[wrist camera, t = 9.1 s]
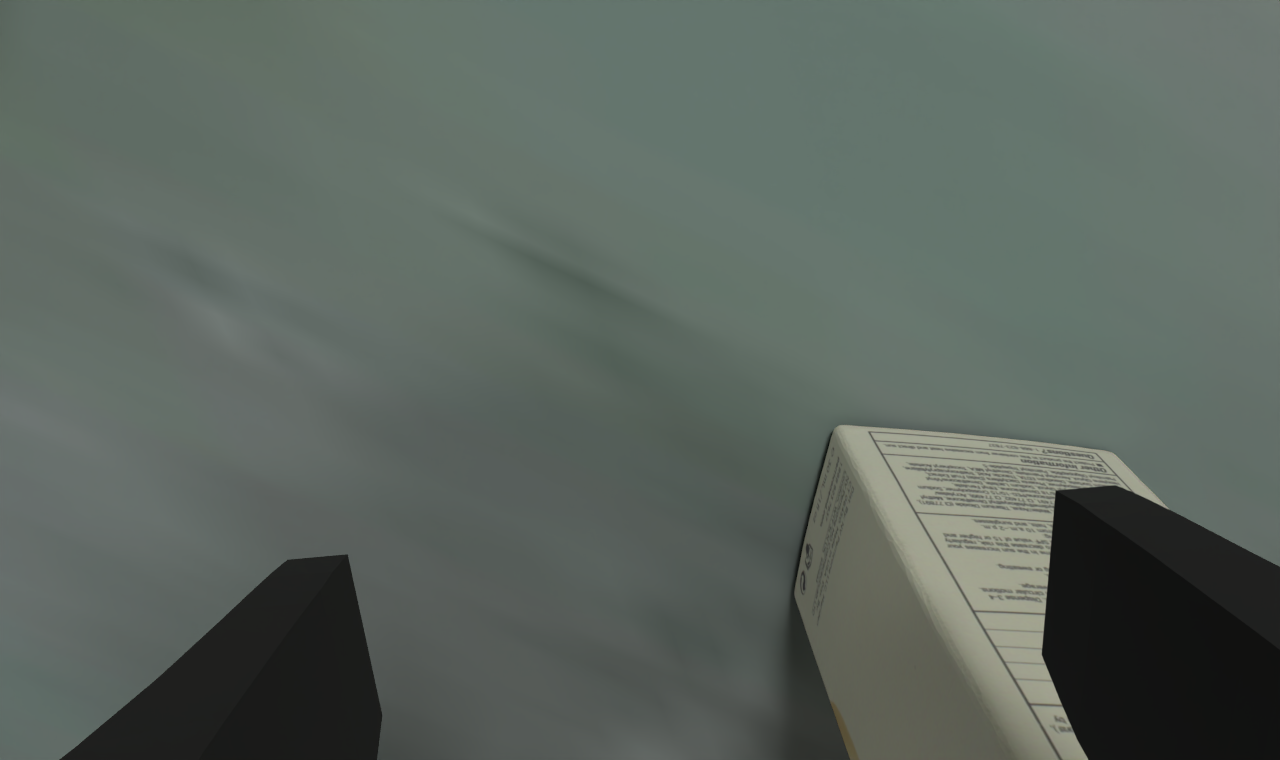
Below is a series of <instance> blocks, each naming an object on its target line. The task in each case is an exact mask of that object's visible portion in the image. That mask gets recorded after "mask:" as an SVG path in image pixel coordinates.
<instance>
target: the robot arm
mask: <svg viewBox="0 0 1280 760" xmlns="http://www.w3.org/2000/svg"><path fill="white" fill-rule="evenodd" d="M1042 657H1043V659H1044V662H1045V664H1046V667H1047V669H1048V672H1049V674H1050V677H1051V679H1052V682H1053V684H1054V687H1055V689H1056V692H1057V694H1058V697H1059V699H1060V702H1061V704H1062V706H1063V709H1064V711H1065V713H1066V715H1067V718H1068V720H1069V722H1070V724H1071V727H1072V729H1073V731H1074V734H1075V736H1076V738H1077V740H1078V742H1079V744H1080V746H1081V748H1082V749H1083V751H1084V753H1085V755H1086V756H1087V758H1088V760H1280V567H1279V566H1277V565H1275V564H1273V563H1271V562H1269V561H1267V560H1265V559H1263V558H1261V557H1259V556H1257V555H1255V554H1254V553H1252V552H1250V551H1248V550H1246V549H1244V548H1242V547H1240V546H1238V545H1236V544H1234V543H1232V542H1230V541H1228V540H1227V539H1225V538H1223V537H1221V536H1219V535H1217V534H1215V533H1213V532H1211V531H1209V530H1207V529H1205V528H1204V527H1202V526H1200V525H1198V524H1196V523H1194V522H1192V521H1190V520H1188V519H1186V518H1184V517H1182V516H1180V515H1178V514H1177V513H1175V512H1173V511H1171V510H1169V509H1167V508H1165V507H1163V506H1161V505H1159V504H1157V503H1155V502H1153V501H1151V500H1148V499H1146V498H1144V497H1142V496H1140V495H1138V494H1136V493H1133V492H1131V491H1129V490H1126V489H1124V488H1121V487H1119V486H1116V485H1111V486H1100V487H1089V488H1078V489H1067V490H1056V492H1055V504H1054V516H1053V528H1052V539H1051V551H1050V563H1049V574H1048V586H1047V598H1046V610H1045V621H1044V633H1043V645H1042ZM381 721H382V712H381V707H380V703H379V698H378V693H377V689H376V684H375V679H374V675H373V670H372V666H371V661H370V656H369V652H368V647H367V642H366V638H365V633H364V628H363V624H362V619H361V615H360V610H359V605H358V601H357V596H356V591H355V587H354V582H353V578H352V573H351V568H350V564H349V559H348V555H337V556H325V557H314V558H303V559H292V560H287V561H286V562H284V563H283V564H282V565H281V566H280V567H278V568H277V569H276V570H275V571H274V572H272V573H271V574H270V575H269V576H268V577H267V578H266V579H265V580H263V581H262V582H261V583H260V584H259V585H258V586H257V587H256V588H255V589H254V590H253V591H252V592H250V593H249V594H248V595H247V596H246V597H245V598H244V599H243V600H242V601H241V602H240V603H239V604H238V605H237V606H236V607H234V608H233V609H232V610H231V611H230V612H229V613H228V614H227V615H226V616H225V617H224V618H223V619H222V620H221V621H220V622H219V623H217V624H216V625H215V626H214V627H213V628H212V629H211V630H210V631H209V632H208V633H207V634H206V635H204V636H203V637H202V638H201V639H200V640H199V641H198V642H197V643H196V644H195V645H194V646H192V647H191V648H190V649H189V650H188V651H187V652H186V653H185V654H184V655H183V656H182V657H180V658H179V659H178V660H177V661H176V662H175V663H174V664H173V665H172V666H171V667H170V668H168V669H167V670H166V671H165V672H164V673H163V674H162V675H161V676H160V677H159V678H157V679H156V680H155V681H154V682H153V683H152V684H150V685H149V686H148V687H147V688H146V689H144V690H143V691H142V692H141V693H140V694H138V695H137V696H136V697H135V698H134V699H133V700H131V701H130V702H129V703H128V704H127V705H125V706H124V707H123V708H122V709H121V710H119V711H118V712H117V713H116V714H115V715H113V716H112V717H111V718H110V719H109V720H107V721H106V722H105V723H104V724H103V725H101V726H100V727H99V728H98V729H97V730H96V731H94V732H93V733H92V734H91V735H90V736H88V737H87V738H86V739H85V740H84V741H82V742H81V743H80V744H79V745H78V746H76V747H75V748H74V749H73V750H71V751H70V752H69V753H67V754H66V755H65V756H64V757H62V758H61V759H60V760H377V754H378V746H379V738H380V730H381Z"/></svg>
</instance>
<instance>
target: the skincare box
mask: <svg viewBox="0 0 1280 760" xmlns="http://www.w3.org/2000/svg"><path fill="white" fill-rule="evenodd" d="M1111 485H1116V486H1119V487H1121V488H1124V489H1126V490H1129V491H1131V492H1133V493H1136V494H1138V495H1140V496H1142V497H1144V498H1146V499H1148V500H1151V501H1153V502H1155V503H1157V504H1159V505H1161V506H1163V507H1165V508H1167V506H1166V505H1165V504H1164V503H1163V502H1162V501H1161V500H1160V499H1159V498H1158V497H1157V496H1156V495H1155V494H1154V493H1153V492H1152V491H1151V490H1150V489H1149V488H1148V487H1147V486H1146V485H1145V484H1144V483H1143V482H1142V481H1140V480H1139V478H1138V477H1137V476H1136V475H1135V474H1134V473H1133V472H1132V471H1131V470H1130V469H1129V468H1128V467H1127V466H1126V465H1125V464H1124V463H1123V462H1122V461H1121V460H1120V459H1119V458H1118V457H1117V456H1116V455H1115V454H1114V453H1112V452H1108V451H1104V450H1096V449H1088V448H1081V447H1075V446H1065V445H1058V444H1051V443H1042V442H1034V441H1024V440H1015V439H1006V438H996V437H985V436H975V435H965V434H955V433H943V432H930V431H918V430H906V429H892V428H878V427H863V426H851V425H839V426H837V427H836V428H835V429H834V431H833V433H832V436H831V440H830V444H829V448H828V451H827V455H826V459H825V463H824V466H823V469H822V473H821V476H820V480H819V484H818V488H817V492H816V496H815V499H814V503H813V507H812V511H811V515H810V519H809V523H808V527H807V531H806V536H805V540H804V544H803V549H802V554H801V559H800V565H799V570H798V575H797V580H796V585H795V592H794V595H795V599H796V602H797V605H798V608H799V611H800V614H801V617H802V620H803V623H804V626H805V629H806V632H807V635H808V638H809V641H810V644H811V647H812V650H813V653H814V656H815V659H816V662H817V665H818V668H819V671H820V674H821V676H822V679H823V682H824V685H825V688H826V691H827V694H828V697H829V700H830V703H831V705H832V708H833V711H834V714H835V717H836V720H837V723H838V726H839V729H840V732H841V735H842V737H843V740H844V743H845V746H846V749H847V752H848V755H849V758H850V760H1088V758H1087V756H1086V755H1085V753H1084V751H1083V749H1082V748H1081V746H1080V744H1079V742H1078V740H1077V738H1076V736H1075V734H1074V731H1073V729H1072V727H1071V724H1070V722H1069V720H1068V718H1067V715H1066V713H1065V711H1064V709H1063V706H1062V704H1061V702H1060V699H1059V697H1058V694H1057V692H1056V689H1055V687H1054V684H1053V682H1052V679H1051V677H1050V674H1049V672H1048V669H1047V667H1046V664H1045V662H1044V659H1043V657H1042V645H1043V633H1044V621H1045V610H1046V598H1047V586H1048V574H1049V563H1050V551H1051V539H1052V528H1053V516H1054V504H1055V492H1056V490H1067V489H1078V488H1089V487H1100V486H1111ZM1167 509H1168V508H1167Z"/></svg>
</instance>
